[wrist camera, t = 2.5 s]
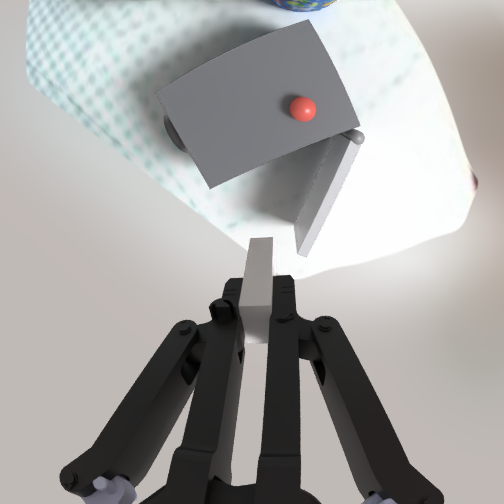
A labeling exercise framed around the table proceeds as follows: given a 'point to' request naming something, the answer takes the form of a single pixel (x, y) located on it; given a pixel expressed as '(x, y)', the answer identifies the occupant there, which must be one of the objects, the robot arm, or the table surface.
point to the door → (326, 188)
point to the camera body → (257, 103)
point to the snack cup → (303, 4)
